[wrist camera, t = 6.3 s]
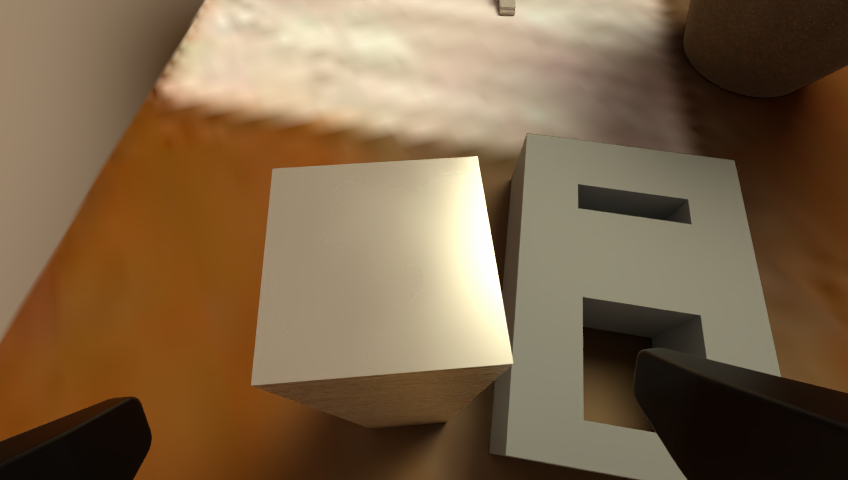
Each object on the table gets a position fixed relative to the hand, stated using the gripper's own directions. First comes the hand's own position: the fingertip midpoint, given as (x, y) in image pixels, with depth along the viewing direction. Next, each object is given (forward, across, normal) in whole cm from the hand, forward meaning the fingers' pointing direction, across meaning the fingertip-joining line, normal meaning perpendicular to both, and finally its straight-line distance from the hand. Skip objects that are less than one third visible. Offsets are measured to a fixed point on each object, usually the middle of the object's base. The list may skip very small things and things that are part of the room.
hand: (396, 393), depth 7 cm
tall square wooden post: (+8, 0, -6) cm, 10 cm away
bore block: (+10, +9, -4) cm, 14 cm away
